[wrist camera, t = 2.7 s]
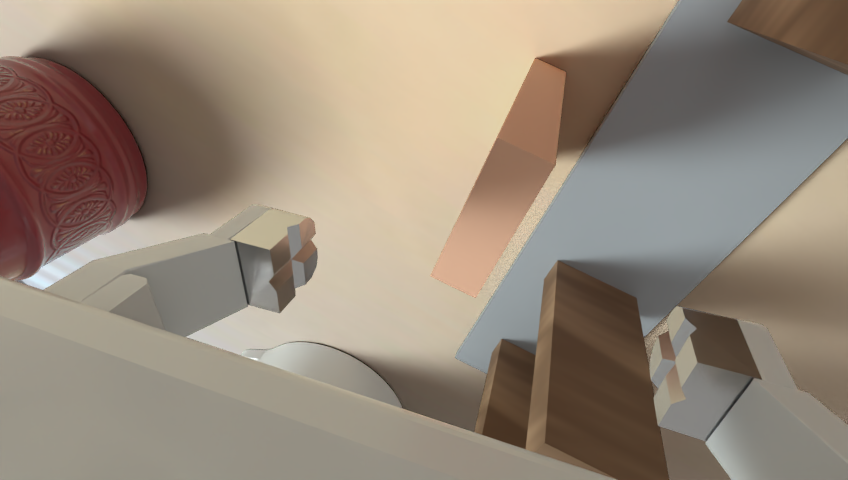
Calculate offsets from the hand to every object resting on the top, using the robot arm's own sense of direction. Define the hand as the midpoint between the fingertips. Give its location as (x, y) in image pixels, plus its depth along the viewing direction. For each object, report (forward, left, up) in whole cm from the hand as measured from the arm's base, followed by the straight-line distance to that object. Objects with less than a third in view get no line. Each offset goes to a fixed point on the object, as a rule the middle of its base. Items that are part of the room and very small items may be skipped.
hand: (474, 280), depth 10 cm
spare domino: (0, 0, -15) cm, 15 cm away
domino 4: (-8, -8, -14) cm, 18 cm away
